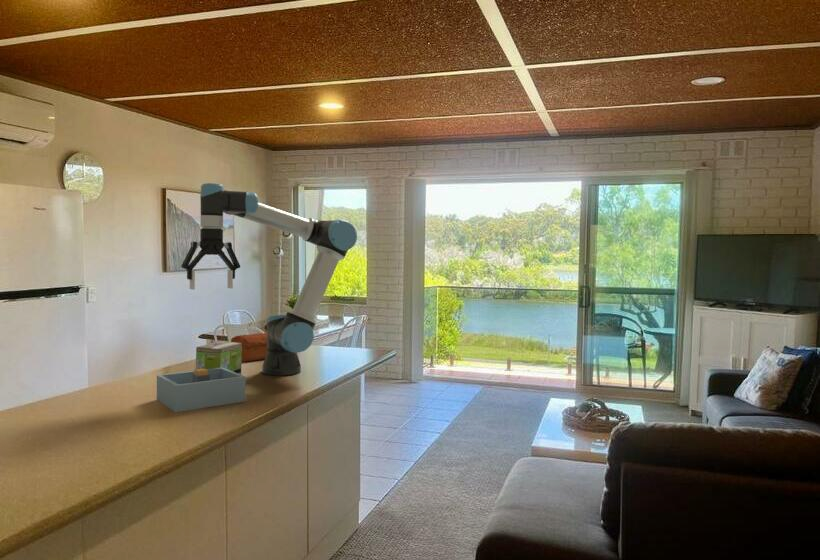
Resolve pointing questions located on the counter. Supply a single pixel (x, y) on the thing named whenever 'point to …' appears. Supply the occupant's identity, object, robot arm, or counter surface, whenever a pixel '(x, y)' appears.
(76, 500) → the counter surface
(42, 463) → the counter surface
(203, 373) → the block
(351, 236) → the robot arm
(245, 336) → the bread
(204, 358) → the tea box
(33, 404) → the counter surface
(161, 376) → the walled box
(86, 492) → the counter surface
